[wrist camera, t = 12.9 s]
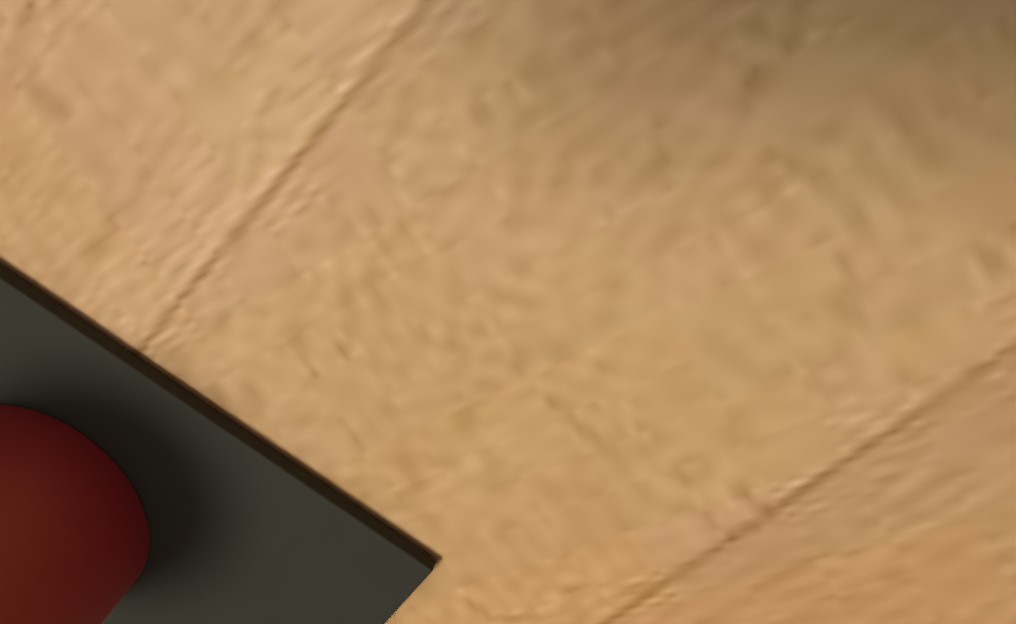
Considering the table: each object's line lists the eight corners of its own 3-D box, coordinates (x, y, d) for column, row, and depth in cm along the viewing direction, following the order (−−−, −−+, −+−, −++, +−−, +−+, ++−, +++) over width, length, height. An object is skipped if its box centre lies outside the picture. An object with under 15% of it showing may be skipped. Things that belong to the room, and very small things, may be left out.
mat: (437, 559, 23) (432, 570, 23) (233, 784, 29) (227, 796, 28) (-201, 127, 22) (-216, 131, 21) (-289, 454, 27) (-303, 462, 27)
